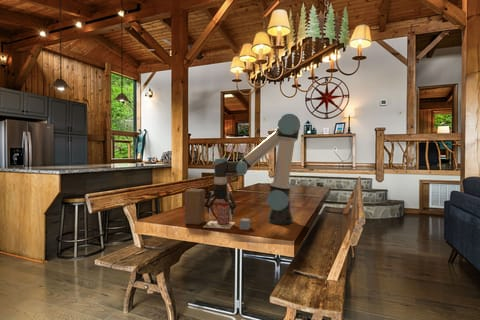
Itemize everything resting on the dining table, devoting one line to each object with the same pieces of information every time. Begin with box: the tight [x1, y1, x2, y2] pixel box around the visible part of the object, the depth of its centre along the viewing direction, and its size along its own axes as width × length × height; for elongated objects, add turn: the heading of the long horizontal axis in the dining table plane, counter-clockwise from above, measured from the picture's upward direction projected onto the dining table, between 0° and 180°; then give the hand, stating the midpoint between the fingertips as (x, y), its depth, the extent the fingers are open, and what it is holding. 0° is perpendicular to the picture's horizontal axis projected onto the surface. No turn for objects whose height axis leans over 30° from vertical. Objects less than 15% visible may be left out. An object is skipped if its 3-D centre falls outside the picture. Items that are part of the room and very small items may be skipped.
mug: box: [210, 199, 232, 225], centre depth 167 cm, size 13×9×14 cm
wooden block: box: [184, 188, 206, 226], centre depth 169 cm, size 10×10×20 cm
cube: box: [239, 218, 251, 231], centre depth 157 cm, size 5×5×5 cm
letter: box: [202, 220, 236, 230], centre depth 164 cm, size 16×14×1 cm
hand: (220, 219), depth 167 cm, fingers closed on mug, 12 cm apart
